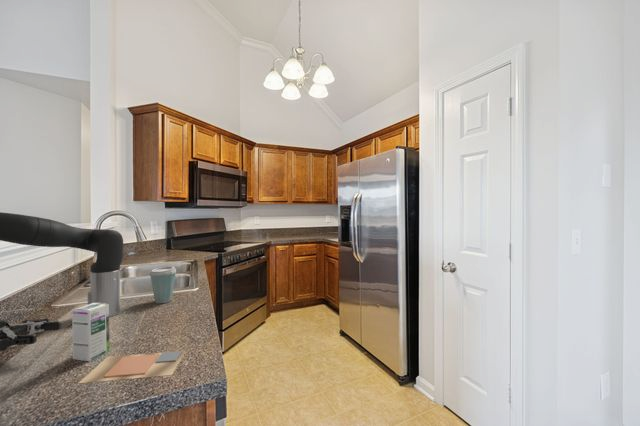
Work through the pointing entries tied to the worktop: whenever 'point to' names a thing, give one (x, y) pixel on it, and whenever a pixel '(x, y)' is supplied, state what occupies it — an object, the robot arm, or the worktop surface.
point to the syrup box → (90, 331)
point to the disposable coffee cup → (163, 283)
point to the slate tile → (169, 356)
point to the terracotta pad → (132, 365)
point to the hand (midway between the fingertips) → (48, 331)
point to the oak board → (153, 371)
